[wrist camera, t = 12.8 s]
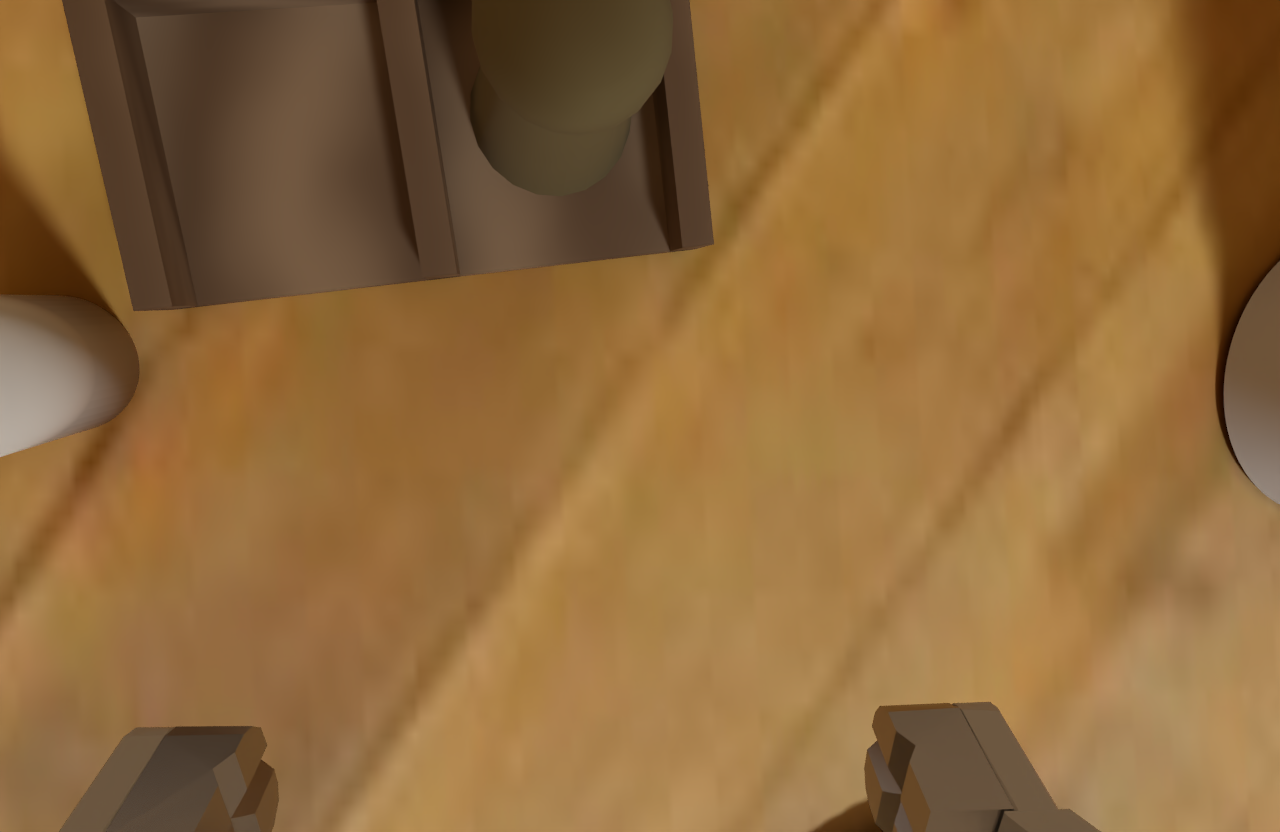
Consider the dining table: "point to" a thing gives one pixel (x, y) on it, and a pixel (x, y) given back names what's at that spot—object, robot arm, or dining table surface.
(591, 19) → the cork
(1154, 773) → the dining table surface
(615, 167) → the brown wooden tray
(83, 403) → the salt cellar
